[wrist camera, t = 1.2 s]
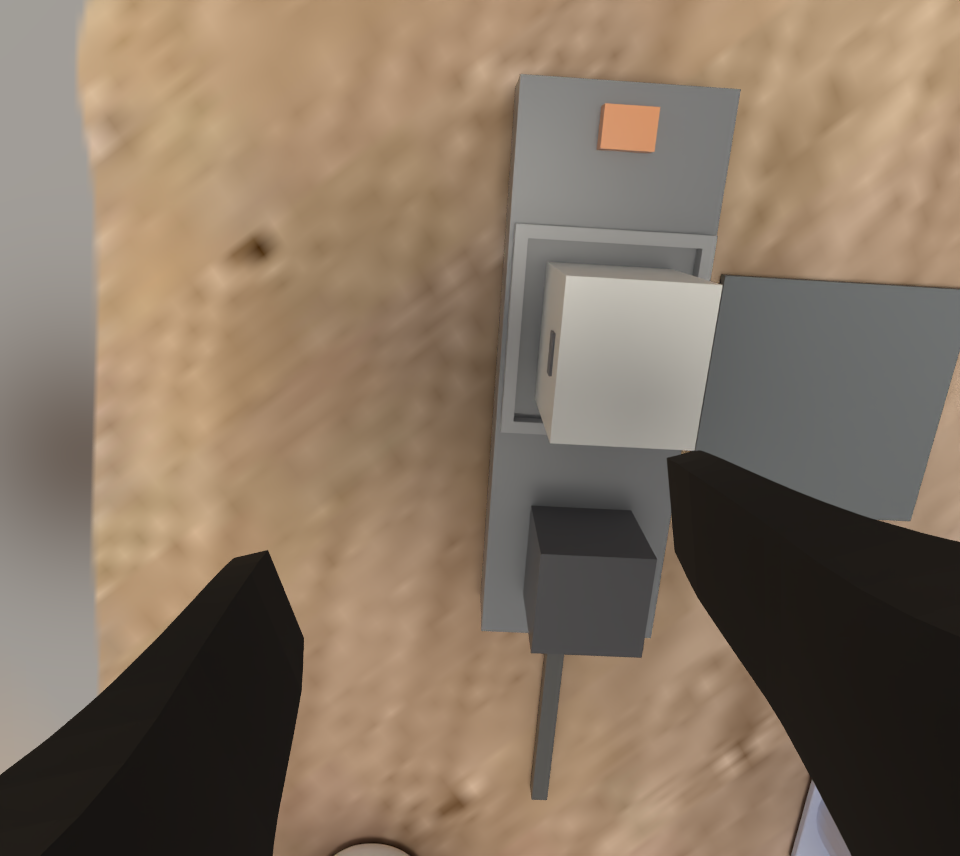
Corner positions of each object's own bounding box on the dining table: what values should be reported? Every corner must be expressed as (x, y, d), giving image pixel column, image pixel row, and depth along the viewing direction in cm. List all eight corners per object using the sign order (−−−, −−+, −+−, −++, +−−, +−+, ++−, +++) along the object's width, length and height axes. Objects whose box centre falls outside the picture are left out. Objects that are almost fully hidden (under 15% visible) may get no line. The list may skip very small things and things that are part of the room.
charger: (671, 269, 21) (723, 284, 17) (652, 404, 23) (694, 450, 18) (544, 261, 21) (563, 275, 17) (532, 398, 23) (546, 443, 18)
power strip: (712, 101, 22) (795, 65, 16) (607, 789, 31) (637, 917, 25) (515, 87, 22) (530, 47, 16) (467, 784, 31) (467, 912, 25)
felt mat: (968, 289, 24) (976, 290, 24) (904, 516, 27) (910, 521, 26) (721, 274, 24) (725, 275, 23) (682, 505, 27) (685, 510, 26)
